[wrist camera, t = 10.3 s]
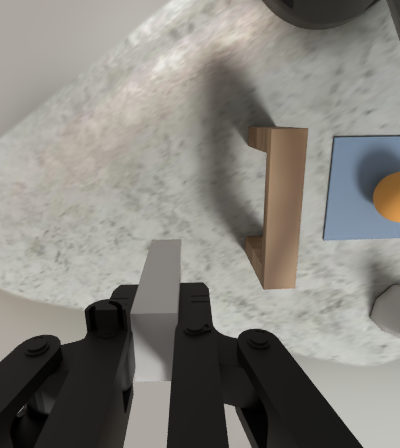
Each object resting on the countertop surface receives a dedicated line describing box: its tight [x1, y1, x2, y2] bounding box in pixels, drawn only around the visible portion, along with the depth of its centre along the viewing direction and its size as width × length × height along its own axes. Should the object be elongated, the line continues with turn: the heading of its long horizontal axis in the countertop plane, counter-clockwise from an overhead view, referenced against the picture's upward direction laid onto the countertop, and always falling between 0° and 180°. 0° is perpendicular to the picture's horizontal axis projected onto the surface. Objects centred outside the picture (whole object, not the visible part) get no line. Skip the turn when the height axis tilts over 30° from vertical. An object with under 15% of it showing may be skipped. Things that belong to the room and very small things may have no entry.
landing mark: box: [323, 136, 400, 240], centre depth 38 cm, size 12×12×1 cm
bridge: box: [245, 127, 308, 290], centre depth 33 cm, size 3×14×9 cm, turn 1°
